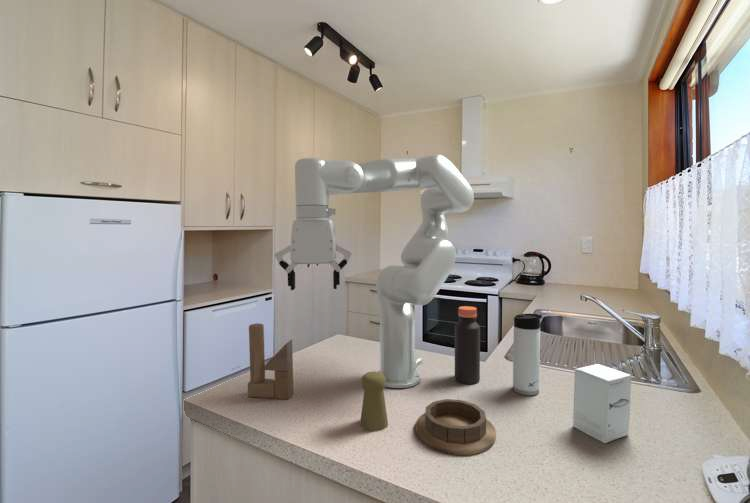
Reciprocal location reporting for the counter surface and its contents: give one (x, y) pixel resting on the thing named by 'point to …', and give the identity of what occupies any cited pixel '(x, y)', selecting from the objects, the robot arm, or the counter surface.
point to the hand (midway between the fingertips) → (314, 288)
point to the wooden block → (269, 368)
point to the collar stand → (455, 428)
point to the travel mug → (526, 354)
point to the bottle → (467, 346)
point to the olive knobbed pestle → (373, 402)
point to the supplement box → (602, 402)
